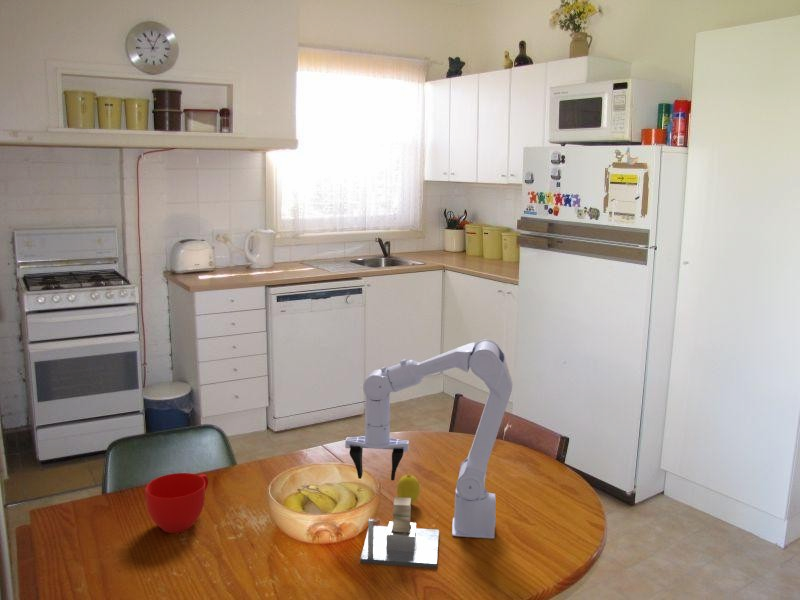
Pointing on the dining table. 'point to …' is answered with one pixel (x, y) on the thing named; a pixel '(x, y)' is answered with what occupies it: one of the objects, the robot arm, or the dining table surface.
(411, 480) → the lemon
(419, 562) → the stand
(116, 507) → the dining table surface
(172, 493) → the ceramic cup
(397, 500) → the block
